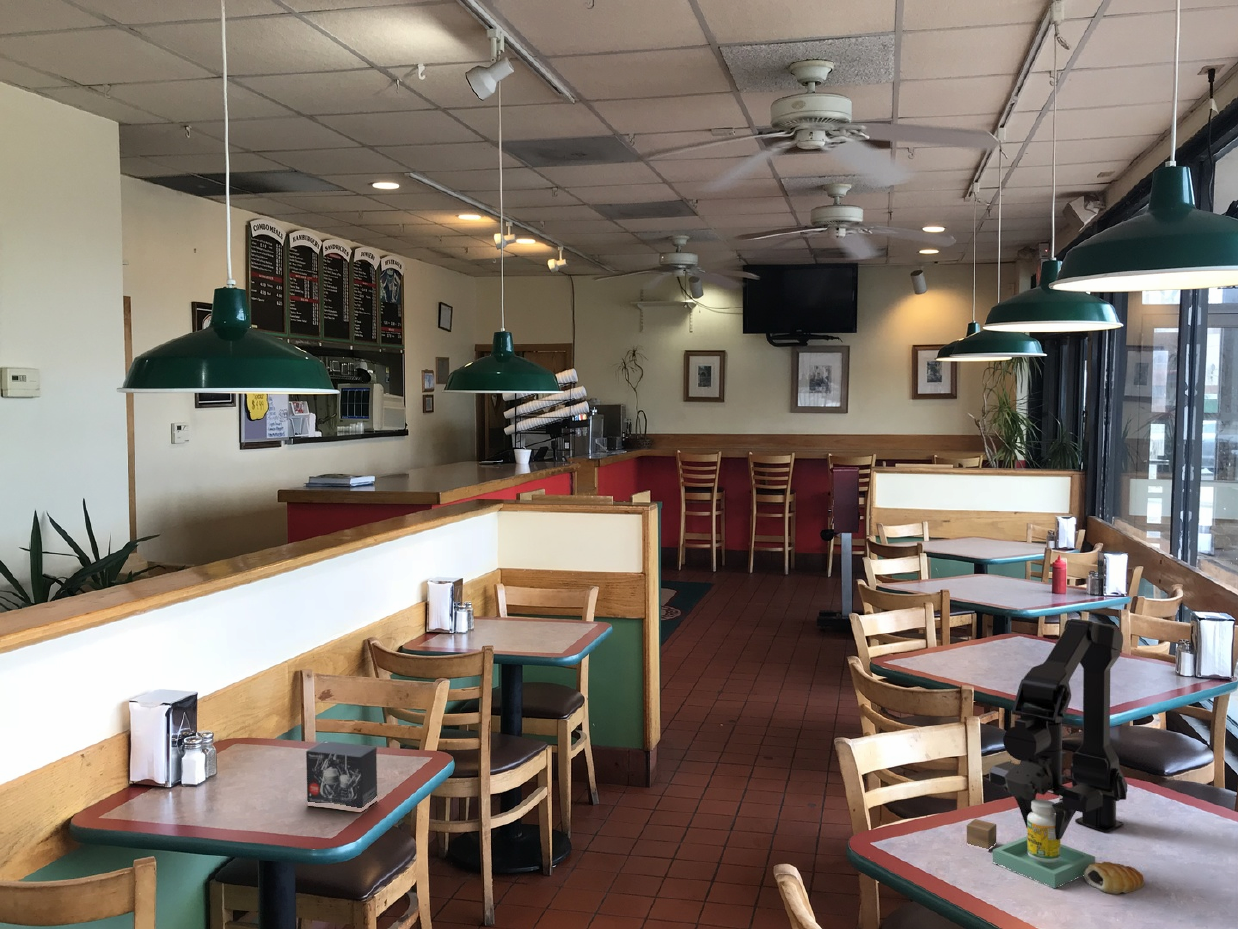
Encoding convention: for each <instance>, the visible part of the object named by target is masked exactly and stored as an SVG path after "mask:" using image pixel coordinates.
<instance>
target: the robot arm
mask: <svg viewBox="0 0 1238 929" xmlns="http://www.w3.org/2000/svg"><path fill="white" fill-rule="evenodd" d="M1063 628H1064V629H1063V631H1062V633H1061V635H1060V637H1059V638H1058V640H1057V642H1056V643H1055V645H1054V646H1053V648H1052V650H1051V652H1050V653H1049V654H1048V656H1047V658H1046V660H1045V661H1043V663H1040V664H1038V665H1036V666H1033V667H1031V669H1030V670H1029V671H1028V672H1027V673H1026V674H1025V675H1024V677H1023V678H1021V680H1020V682H1019V686H1018V688H1017V689H1018V690H1017V692H1016V696H1015V700H1014V703H1013V706H1012V710H1011V714H1012V715H1013V716H1019V717H1017V718H1015V719H1014V725H1013V726H1011V727H1010V728H1008V729H1007V730H1006V731H1005V733H1004V735H1003V737H1002V738H1003V739H1002V741H1003V747H1004V749H1005V751H1006V752H1007V754H1008V755H1009V756H1010V757H1012V758H1013V759H1015V760H1017V761H1019V763H1018V764H1017V763H1013V762H1011V761H1005V762H1002V763H999V764H996V765H993V766H991V768H990V770H989V771H988V772H989V773H988V776H989V778H988V780H989V783H991V784H995V785H997V786H1000V787H1004V786H1005V787H1004V788H1003V789H1004V791H1005V792H1008V793H1009V794H1010V795H1011V796H1012V797H1014V799H1015V801H1016V803H1017V805H1018V808H1019V810H1020V813H1021V816H1022V819H1023V822H1024V825H1025V828H1026V829H1027V817H1028V814H1029V813H1030V812H1032V809H1031V802H1032V801H1033V800H1036V798H1037V794H1039V795H1042V796H1045V794H1046V793H1049V794H1051V795H1054V796H1058V798H1059V799H1058V802H1054V803H1055V804H1052V807H1053V808H1054V810H1055V812H1056V813H1055V814H1056V820H1055V834H1056V839H1057V840H1060V841H1061V840H1062V838H1063V836H1064V835H1065V833H1066V831H1067V828H1068V826H1069V824H1070V822H1071V820H1072V818H1073V817H1074V815H1075V814H1076V813H1077V812H1079V813H1082V814H1081V816H1080V817H1078V818H1075V819H1074V821H1075V823H1077V824H1080V825H1082V826H1085V827H1087V828H1091V829H1095V831H1100V832H1103V833H1109V832H1111V831H1113V830H1114V831H1115V830H1116V829H1119V828H1121V827H1123V826H1124V825H1125V824H1124V822H1123V821H1120V820H1117V802H1119V801H1121V800H1123V801H1124V800H1127V793H1128V782H1127V780H1126V778H1125V777H1124V776H1125V775H1124V774H1123V772H1122V770H1121V769H1120V759H1119V756H1118V755H1117V753H1116V751H1115V750H1114V748H1113V746H1112V745H1111V742H1110V741H1111V739H1110V738H1111V737H1110V736H1111V732H1110V730H1111V729H1110V727H1111V669H1112V667H1113V666H1114V665H1115V663H1116V662H1117V661H1118V659H1119V658H1120V655H1121V649H1123V644H1124V635H1123V632H1122V631H1121V630H1119V629H1118V627H1117V625H1115V624H1108V623H1100V622H1094V621H1092V620H1086V619H1078V618H1070V619H1066V620H1065V624H1064V626H1063ZM1079 664H1080V665H1081V668H1083V669H1082V670H1083V674H1082V675H1083V680H1082V683H1083V684H1082V686H1083V688H1082V689H1083V690H1082V698H1083V700H1082V743H1081V745H1080V746H1079V747H1078V749H1077V750H1076V751H1075V752H1074V753H1073V754H1072V755H1071V757H1072V762H1071V765H1070V779H1071V787H1068V786H1066V785H1063V783H1065V782H1067V775H1065V774H1063V773H1062V772H1063V760H1065V759H1067V752H1066V751H1063V718H1065V716H1066V714H1067V711H1068V708H1069V705H1070V702H1071V700H1072V691H1071V690H1072V689H1071V686H1070V681H1071V678H1072V676H1073V675H1074V673H1075V671H1076V669H1078V668H1077V667H1078V666H1079ZM1025 705H1026V706H1025Z"/></svg>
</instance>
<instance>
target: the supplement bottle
mask: <svg viewBox="0 0 1238 929" xmlns="http://www.w3.org/2000/svg"><path fill="white" fill-rule="evenodd" d="M1055 803H1056V802H1054V801H1051V800H1048V799H1043V798H1042V799H1041V798H1039V799H1036V800H1033V801H1032V802H1031V809H1032V812H1030V813H1029V814H1028V817H1027V828H1026V829H1027V830H1026V832H1027V836H1026V837H1027V844H1028V845H1027V848H1028V855H1029V856H1030V857H1031V858H1032V859H1034V860H1037V861H1041V862H1048V863H1051V862H1056V861H1058V860H1059V859H1060V844H1061V839H1060V840H1057V839H1056V834H1055V820H1056V812H1055V810H1054V808H1053V807H1052V804H1055Z"/></svg>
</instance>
